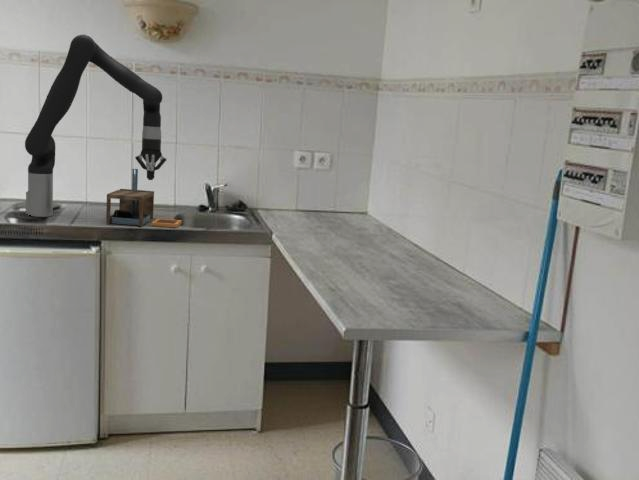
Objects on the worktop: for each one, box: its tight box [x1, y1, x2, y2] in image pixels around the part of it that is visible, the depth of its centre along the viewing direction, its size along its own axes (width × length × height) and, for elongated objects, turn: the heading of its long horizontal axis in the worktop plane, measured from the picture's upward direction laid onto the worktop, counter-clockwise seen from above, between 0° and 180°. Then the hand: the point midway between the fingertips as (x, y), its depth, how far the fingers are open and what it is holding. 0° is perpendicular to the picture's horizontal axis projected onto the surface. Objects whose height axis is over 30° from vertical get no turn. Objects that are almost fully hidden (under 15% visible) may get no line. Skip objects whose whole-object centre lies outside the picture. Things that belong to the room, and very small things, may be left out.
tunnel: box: [105, 188, 155, 228], centre depth 272 cm, size 14×20×12 cm
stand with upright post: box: [110, 168, 151, 226], centre depth 272 cm, size 14×16×21 cm
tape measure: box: [113, 209, 133, 218], centre depth 272 cm, size 7×7×4 cm
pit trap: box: [151, 218, 183, 229], centre depth 273 cm, size 10×11×2 cm
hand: (150, 179), depth 277 cm, fingers closed
